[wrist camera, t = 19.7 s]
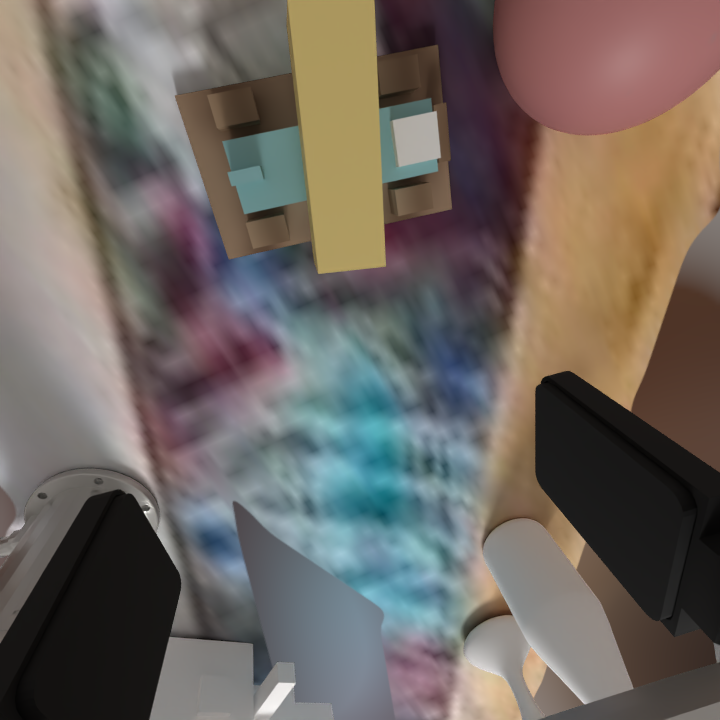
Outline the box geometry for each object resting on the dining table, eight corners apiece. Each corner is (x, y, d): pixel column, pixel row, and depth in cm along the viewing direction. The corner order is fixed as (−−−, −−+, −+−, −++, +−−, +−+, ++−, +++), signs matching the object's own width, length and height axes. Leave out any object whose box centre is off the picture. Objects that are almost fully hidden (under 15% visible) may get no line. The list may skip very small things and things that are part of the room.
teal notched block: (250, 207, 33) (241, 217, 26) (232, 147, 32) (216, 138, 24) (413, 171, 34) (450, 170, 27) (406, 110, 33) (443, 91, 25)
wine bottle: (493, 513, 55) (699, 840, 28) (553, 516, 57) (796, 821, 30) (470, 563, 58) (633, 898, 31) (528, 565, 61) (724, 877, 34)
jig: (230, 257, 36) (225, 265, 33) (177, 98, 30) (165, 89, 27) (447, 208, 37) (463, 211, 34) (433, 48, 32) (449, 34, 29)
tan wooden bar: (314, 262, 30) (318, 273, 27) (286, 25, 24) (287, -1, 21) (373, 255, 31) (385, 266, 27) (360, 23, 25) (374, -3, 21)
